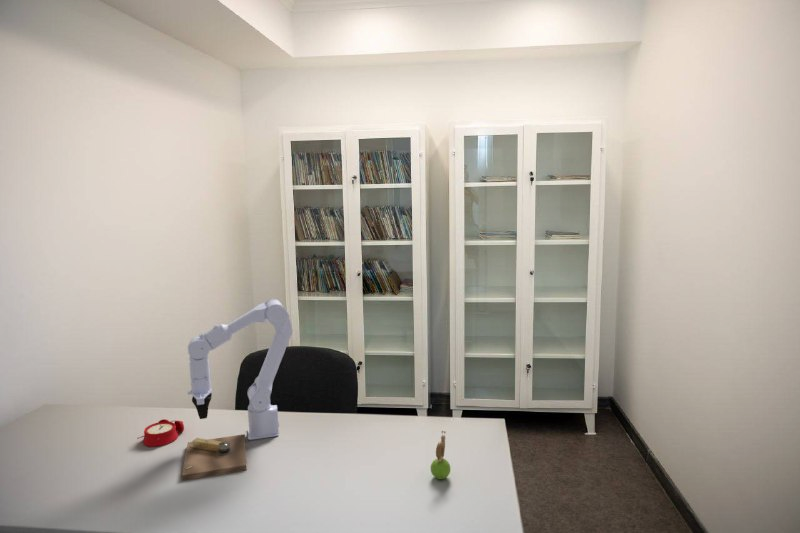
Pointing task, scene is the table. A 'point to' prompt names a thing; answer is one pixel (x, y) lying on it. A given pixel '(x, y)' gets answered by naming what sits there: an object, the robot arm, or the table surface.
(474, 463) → the table surface
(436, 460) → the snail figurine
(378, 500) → the table surface
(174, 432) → the alarm clock
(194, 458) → the plate
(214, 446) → the tan wooden bar
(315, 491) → the table surface
